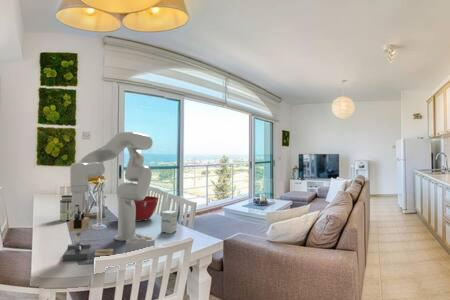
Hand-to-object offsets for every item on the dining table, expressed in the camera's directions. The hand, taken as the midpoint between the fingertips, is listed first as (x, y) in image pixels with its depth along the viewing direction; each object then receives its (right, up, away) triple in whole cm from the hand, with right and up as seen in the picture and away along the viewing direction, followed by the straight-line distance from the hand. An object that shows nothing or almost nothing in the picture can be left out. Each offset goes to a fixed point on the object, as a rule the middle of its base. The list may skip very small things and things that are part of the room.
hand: (79, 226), depth 140 cm
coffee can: (-44, -14, +73) cm, 87 cm away
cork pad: (+10, -14, +5) cm, 18 cm away
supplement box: (+34, -15, +45) cm, 58 cm away
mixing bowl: (+5, -15, +78) cm, 79 cm away
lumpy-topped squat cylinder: (+27, -15, +4) cm, 31 cm away
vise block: (0, -14, -1) cm, 14 cm away
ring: (0, -1, 0) cm, 2 cm away
